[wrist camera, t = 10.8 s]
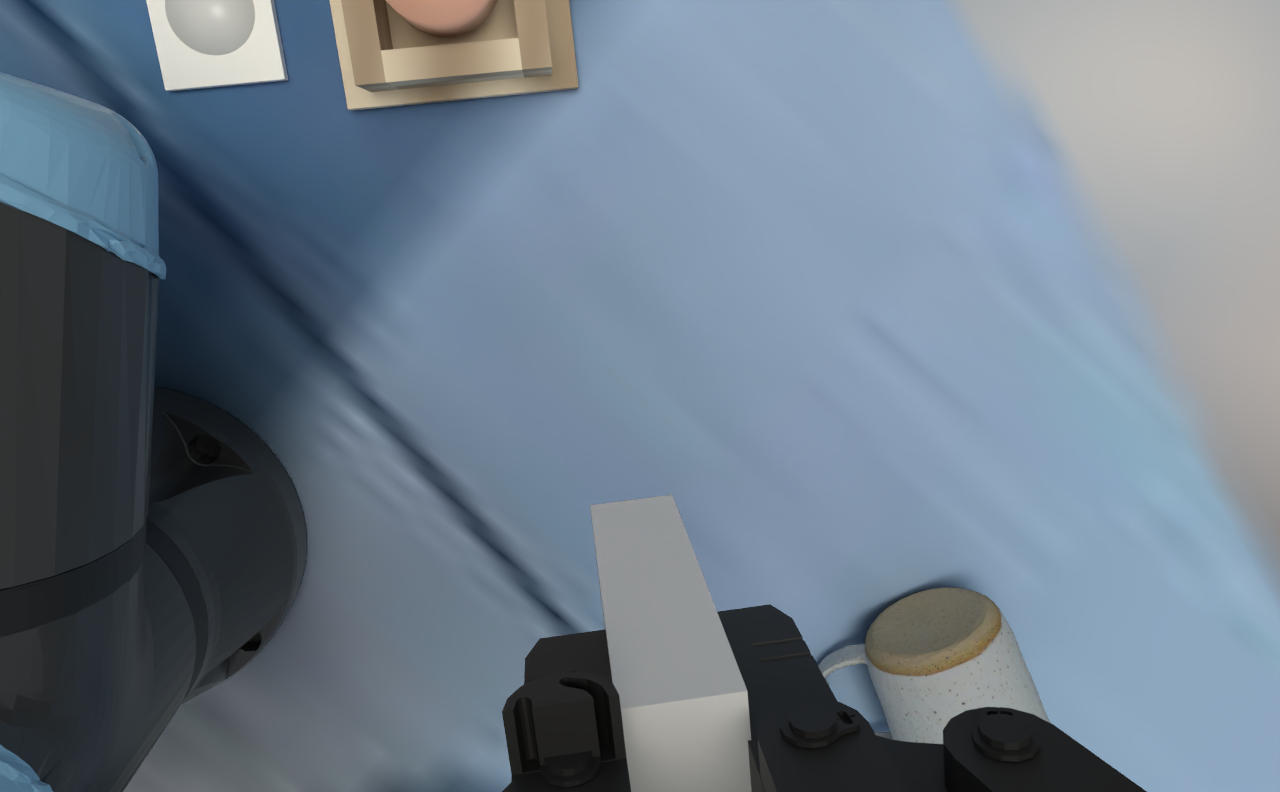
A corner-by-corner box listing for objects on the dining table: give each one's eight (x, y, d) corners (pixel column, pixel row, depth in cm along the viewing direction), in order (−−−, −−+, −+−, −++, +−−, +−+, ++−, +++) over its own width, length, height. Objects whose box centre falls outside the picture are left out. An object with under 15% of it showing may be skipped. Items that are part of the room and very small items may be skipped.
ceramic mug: (963, 558, 50) (1033, 628, 42) (1011, 682, 52) (1086, 769, 44) (780, 640, 50) (818, 724, 42) (835, 759, 52) (881, 859, 44)
